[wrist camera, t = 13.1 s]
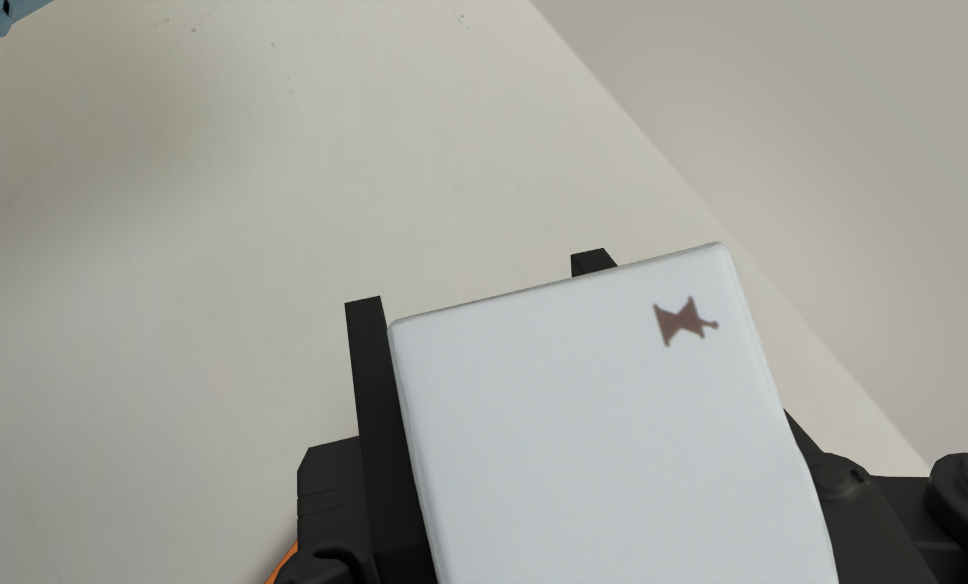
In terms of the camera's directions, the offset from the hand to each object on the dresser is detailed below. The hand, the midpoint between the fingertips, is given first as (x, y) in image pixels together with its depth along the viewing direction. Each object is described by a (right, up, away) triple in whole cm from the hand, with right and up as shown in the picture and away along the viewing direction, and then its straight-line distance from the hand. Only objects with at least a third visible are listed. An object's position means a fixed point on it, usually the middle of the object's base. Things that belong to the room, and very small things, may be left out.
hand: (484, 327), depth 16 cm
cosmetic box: (+1, -5, +3) cm, 6 cm away
